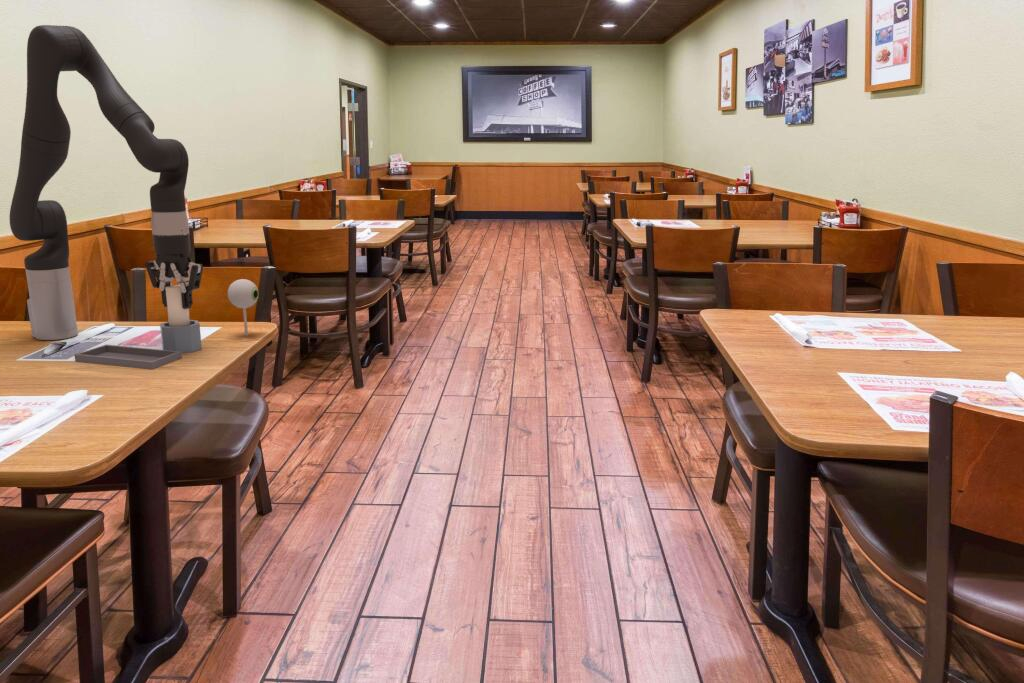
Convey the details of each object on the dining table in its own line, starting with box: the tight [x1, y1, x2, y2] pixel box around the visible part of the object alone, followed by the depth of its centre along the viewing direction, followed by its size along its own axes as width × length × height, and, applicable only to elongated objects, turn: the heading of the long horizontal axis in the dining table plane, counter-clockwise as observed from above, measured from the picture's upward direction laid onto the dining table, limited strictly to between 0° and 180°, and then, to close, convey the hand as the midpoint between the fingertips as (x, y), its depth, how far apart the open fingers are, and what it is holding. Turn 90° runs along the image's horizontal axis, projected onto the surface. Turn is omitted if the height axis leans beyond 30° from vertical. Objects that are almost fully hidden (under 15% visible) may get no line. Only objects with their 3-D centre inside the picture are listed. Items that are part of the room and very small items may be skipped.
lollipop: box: [227, 278, 260, 337], centre depth 189 cm, size 7×7×15 cm
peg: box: [165, 284, 191, 327], centre depth 176 cm, size 4×4×12 cm
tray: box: [74, 344, 182, 370], centre depth 169 cm, size 20×9×2 cm, turn 74°
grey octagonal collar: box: [159, 319, 203, 355], centre depth 177 cm, size 8×8×7 cm
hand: (178, 307), depth 175 cm, fingers closed on peg, 4 cm apart
